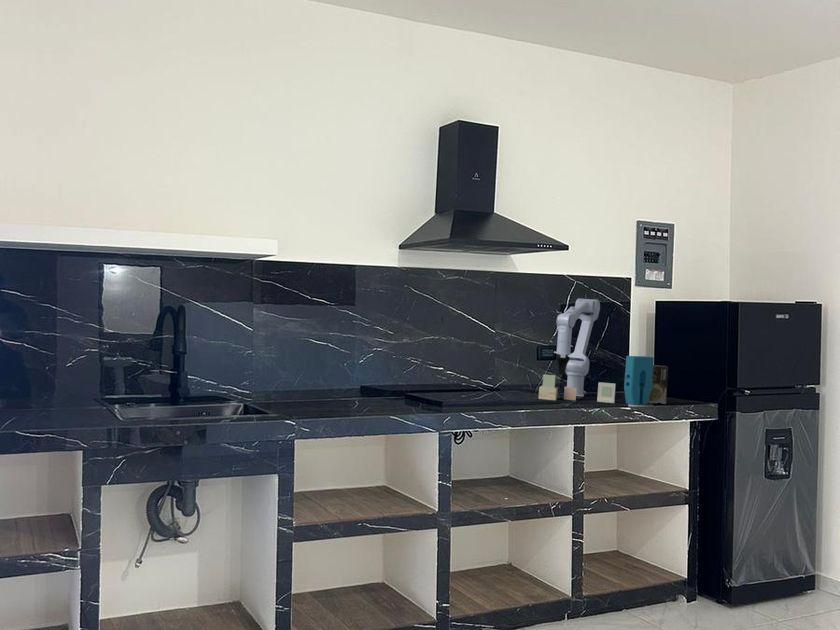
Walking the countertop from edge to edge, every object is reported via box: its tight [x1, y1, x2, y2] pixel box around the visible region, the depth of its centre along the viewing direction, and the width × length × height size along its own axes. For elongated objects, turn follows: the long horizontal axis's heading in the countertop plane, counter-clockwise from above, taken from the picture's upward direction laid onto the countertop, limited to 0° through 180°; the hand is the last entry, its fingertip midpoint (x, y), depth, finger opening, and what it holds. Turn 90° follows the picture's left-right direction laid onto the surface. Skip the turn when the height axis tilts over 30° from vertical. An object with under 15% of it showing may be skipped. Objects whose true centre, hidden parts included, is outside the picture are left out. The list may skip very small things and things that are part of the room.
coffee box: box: [648, 364, 669, 405], centre depth 379 cm, size 9×6×16 cm
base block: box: [538, 385, 559, 401], centre depth 368 cm, size 7×7×5 cm
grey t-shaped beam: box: [596, 381, 616, 404], centre depth 370 cm, size 4×7×8 cm, turn 80°
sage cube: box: [542, 374, 557, 388], centre depth 368 cm, size 5×5×5 cm
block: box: [623, 355, 655, 406], centre depth 370 cm, size 12×5×20 cm, turn 120°
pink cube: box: [563, 386, 577, 401], centre depth 371 cm, size 5×5×5 cm
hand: (561, 373), depth 373 cm, fingers open, 7 cm apart
